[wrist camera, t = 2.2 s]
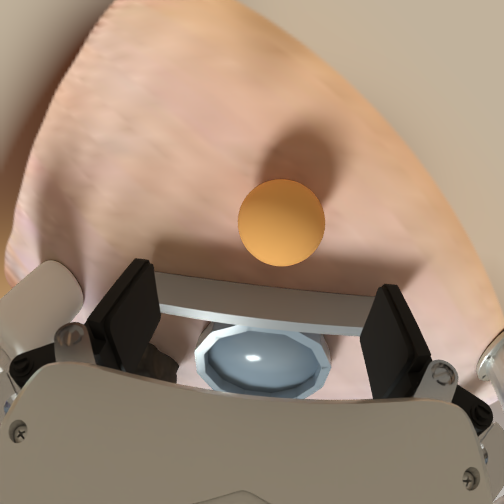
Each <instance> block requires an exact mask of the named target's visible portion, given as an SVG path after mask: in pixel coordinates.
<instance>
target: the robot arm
mask: <svg viewBox="0 0 504 504" xmlns="http://www.w3.org/2000/svg"><path fill="white" fill-rule="evenodd" d="M160 318H161V312H160V306H159V300H158V294H157V287H156V280H155V273H154V267H153V264H150V262H149V260H145V259H137V258H136V259H134V260H133V262H132V263H131V264H130V265H129V266H128V268H127V269H126V270H125V271H124V272H123V274H122V275H121V276H120V277H119V279H118V280H117V281H116V282H115V284H114V285H113V286H112V287H111V289H110V290H109V291H108V292H107V294H106V295H105V296H104V297H103V299H102V300H101V301H100V303H99V304H98V305H97V307H96V308H95V309H94V311H93V312H92V313H91V315H90V316H89V317H88V319H87V321H86V323H85V324H84V325H83V324H81V323H79V322H71V323H67V324H65V325H63V326H61V327H60V328H59V329H58V330H57V331H56V333H55V335H54V342H53V343H50V344H47V345H44V346H42V347H39V348H36V349H33V350H30V351H27V352H24V353H21V354H19V355H17V356H16V357H15V358H14V359H13V360H12V361H11V363H10V366H9V371H8V372H6V370H4V371H2V372H0V504H504V495H503V496H502V497H500V498H498V499H497V500H496V501H494V499H495V498H496V497H497V495H498V494H499V492H500V491H501V489H502V488H503V486H504V430H503V429H502V428H501V426H500V425H499V424H498V423H497V422H495V423H494V424H493V423H492V421H493V414H492V411H491V408H490V407H489V406H488V404H486V403H485V402H484V401H482V400H481V399H479V398H478V397H476V396H474V395H473V394H471V393H470V392H468V391H467V390H465V389H463V388H462V387H460V386H459V385H457V383H458V374H457V372H456V370H455V368H454V367H453V366H452V365H451V364H449V363H448V362H446V361H443V360H434V361H432V359H431V353H430V351H429V349H428V346H427V344H426V342H425V340H424V338H423V335H422V333H421V331H420V329H419V327H418V325H417V323H416V321H415V319H414V317H413V315H412V313H411V311H410V309H409V307H408V305H407V303H406V301H405V299H404V297H403V295H402V293H401V291H400V289H399V287H398V286H397V285H392V284H384V285H383V286H382V287H379V288H378V291H377V293H376V296H375V299H374V301H373V304H372V307H371V309H370V312H369V315H368V317H367V320H366V322H365V325H364V327H363V329H362V332H361V334H360V344H361V348H362V352H363V356H364V360H365V364H366V368H367V373H368V377H369V382H370V386H371V391H372V396H373V399H360V400H314V399H292V398H276V397H264V396H254V395H245V394H237V393H229V392H222V391H215V390H209V389H203V388H197V387H191V386H186V385H180V384H175V383H171V382H166V381H161V380H157V379H153V378H148V377H144V376H140V375H135V374H134V373H135V371H136V369H137V366H138V364H139V362H140V360H141V358H142V356H143V354H144V352H145V350H146V348H147V346H148V343H149V341H150V339H151V337H152V335H153V333H154V331H155V329H156V327H157V325H158V323H159V321H160ZM476 373H477V375H478V378H479V379H480V380H482V381H489V380H490V381H491V383H492V385H493V388H494V390H495V392H496V395H497V397H498V399H499V402H500V404H501V407H502V409H503V412H504V331H503V332H502V333H501V334H500V335H499V336H498V337H497V338H496V339H495V340H494V341H493V342H492V343H491V344H490V345H489V347H488V348H487V349H486V351H485V352H484V353H483V355H482V357H481V358H480V360H479V362H478V365H477V368H476ZM493 501H494V502H493ZM492 502H493V503H492Z"/></svg>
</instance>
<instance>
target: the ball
mask: <svg viewBox="0 0 504 504" xmlns="http://www.w3.org/2000/svg"><path fill="white" fill-rule="evenodd" d="M238 229H239V234H240V237H241V240H242V242H243V244H244V245H245V247H246V249H247V250H248V251H249V252H250V253H251V254H252V255H253V256H254V257H256V258H257V259H258V260H260V261H262V262H264V263H266V264H270V265H274V266H290V265H294V264H297V263H299V262H301V261H303V260H305V259H306V258H308V257H309V256H310V255H311V254H312V253H313V252H314V251H315V250H316V249H317V247H318V246H319V244H320V242H321V240H322V238H323V234H324V230H325V217H324V211H323V208H322V206H321V204H320V202H319V200H318V198H317V197H316V196H315V194H314V193H313V192H312V191H311V190H310V189H308V188H307V187H306V186H304V185H302V184H300V183H298V182H296V181H292V180H287V179H275V180H270V181H267V182H264V183H262V184H260V185H258V186H257V187H256V188H254V189H253V190H252V191H251V192H250V193H249V194H248V195H247V197H246V198H245V199H244V201H243V203H242V205H241V207H240V211H239V215H238Z"/></svg>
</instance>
